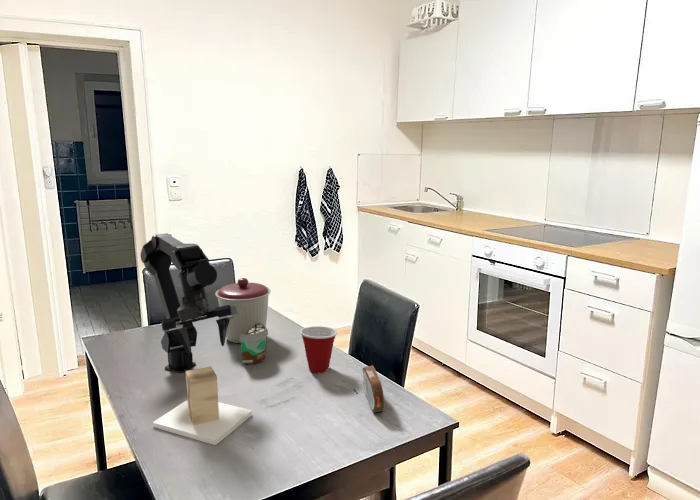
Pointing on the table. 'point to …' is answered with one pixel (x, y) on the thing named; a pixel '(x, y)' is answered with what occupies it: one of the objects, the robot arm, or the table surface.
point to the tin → (373, 389)
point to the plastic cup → (318, 347)
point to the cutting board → (205, 432)
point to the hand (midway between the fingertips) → (206, 349)
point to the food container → (254, 344)
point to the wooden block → (202, 395)
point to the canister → (244, 306)
